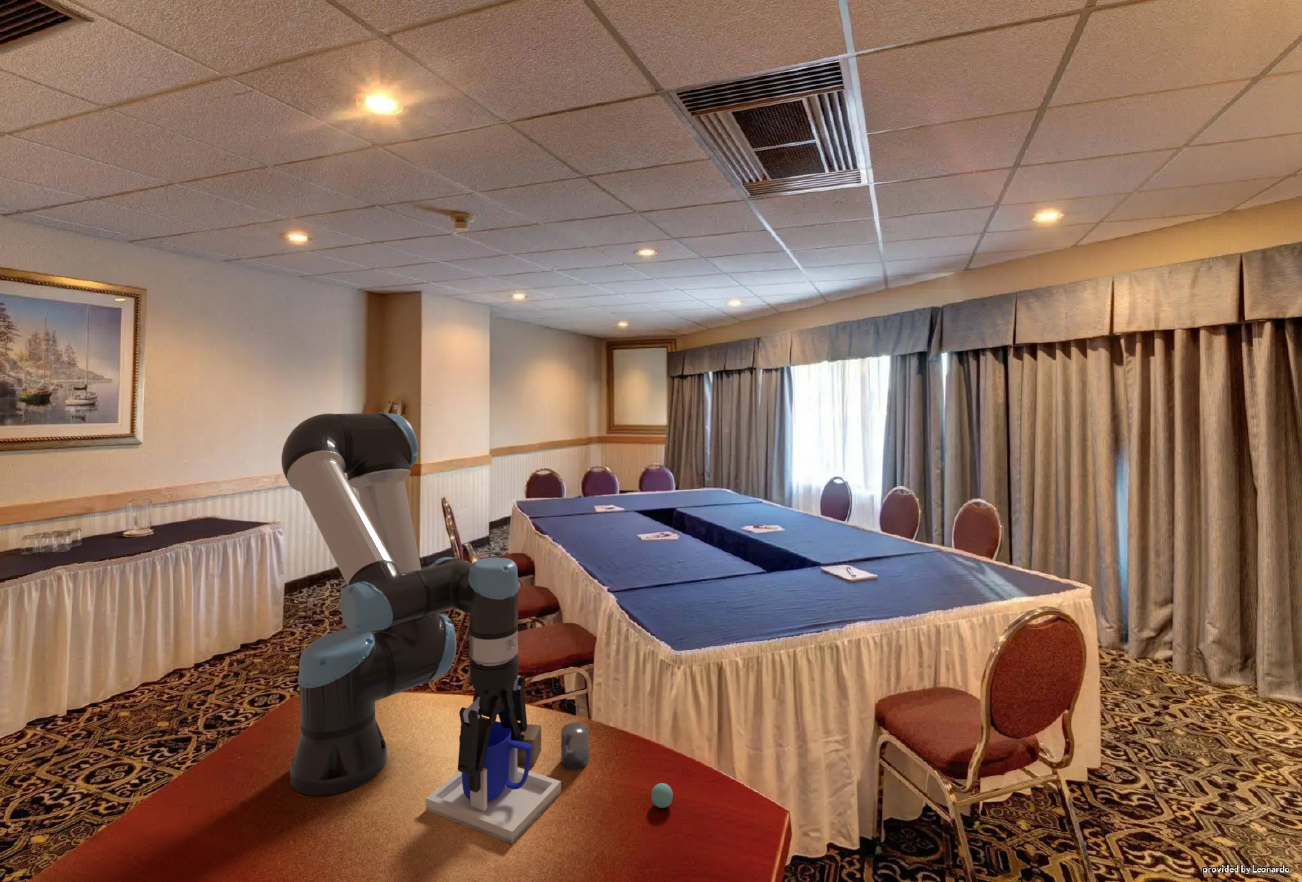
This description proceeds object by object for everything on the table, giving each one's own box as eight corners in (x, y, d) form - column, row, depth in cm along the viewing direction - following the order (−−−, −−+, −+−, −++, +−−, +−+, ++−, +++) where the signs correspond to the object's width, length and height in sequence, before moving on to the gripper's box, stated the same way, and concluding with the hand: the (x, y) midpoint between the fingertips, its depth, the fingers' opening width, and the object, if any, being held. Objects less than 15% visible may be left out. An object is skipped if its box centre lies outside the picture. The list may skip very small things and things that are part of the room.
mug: (519, 816, 95) (520, 755, 94) (448, 803, 97) (449, 743, 96) (539, 784, 103) (540, 727, 102) (473, 773, 105) (474, 717, 104)
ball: (647, 808, 98) (648, 788, 98) (656, 796, 101) (656, 776, 101) (667, 815, 97) (668, 794, 97) (675, 802, 100) (676, 781, 100)
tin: (555, 765, 109) (555, 733, 109) (570, 750, 114) (570, 719, 113) (579, 772, 107) (579, 740, 107) (593, 757, 112) (594, 726, 111)
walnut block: (506, 765, 109) (506, 738, 109) (515, 748, 114) (515, 723, 114) (533, 766, 109) (533, 740, 109) (541, 750, 114) (541, 724, 114)
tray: (425, 809, 97) (425, 798, 97) (480, 765, 109) (480, 754, 109) (512, 844, 90) (512, 831, 90) (560, 792, 102) (560, 781, 102)
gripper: (469, 688, 87) (470, 839, 89) (549, 638, 105) (548, 765, 107) (430, 677, 90) (431, 824, 92) (513, 630, 108) (513, 753, 110)
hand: (494, 792), depth 99 cm, fingers open, 7 cm apart
